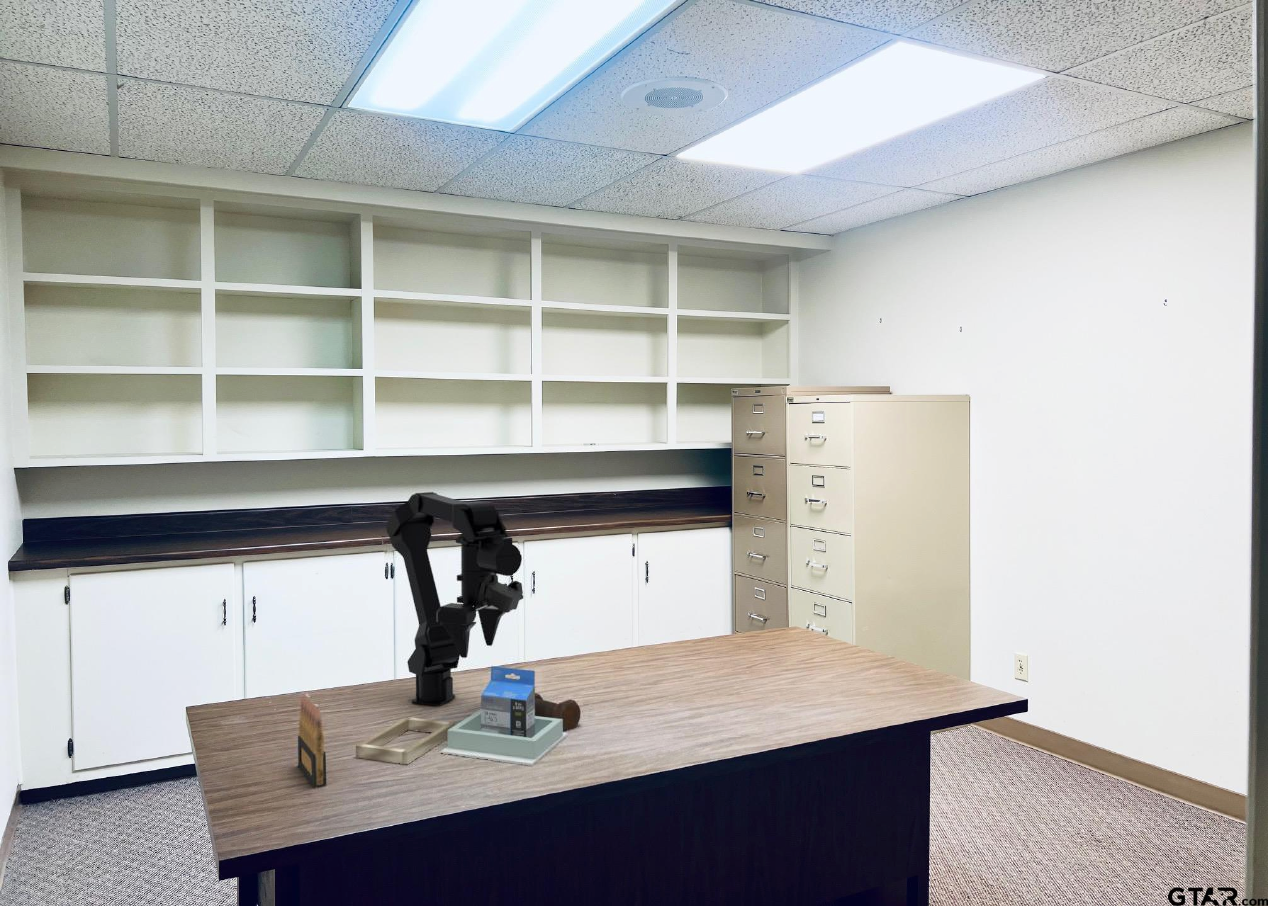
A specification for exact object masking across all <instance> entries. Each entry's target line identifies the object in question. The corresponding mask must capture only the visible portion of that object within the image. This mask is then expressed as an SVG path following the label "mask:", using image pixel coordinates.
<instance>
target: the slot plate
mask: <svg viewBox="0 0 1268 906" xmlns="http://www.w3.org/2000/svg"><path fill="white" fill-rule="evenodd" d="M447 732H448V739H447V746H446V747H445V748H443V749H442V750H440V754H441V753H443V754H442V755H448V754H452V755H451V756H455V755H458V756H457V757H462V756H465V757H464V758H471V759H477V758H479V759H478V760H484V759H488V760H487V761H492V760H493V761H494V762H499V761H500V762H501V763H507V764H516V765H521V764H522V765H524V766H529V767H533V766H534V765H535V764H536V763H537V762H538V761H541V759H542V758H543V757H544V756H546V755H547V754H548V753H549V752H550V751H551V750H552V749H554V748H555V747H557V745H559V744H560V743H561V742H562V741H563V740H564V739H566V737H568V736H569V732H567V731H563V719H556V718H548V717H539V716H535V736H533V737H532V738H528V737H520V736H511V735H503V734H495V733H487V732H481V709H478V710H476V712H474V713H473V714H471V715H470V716H468V717H466V718H465V719H463V720H462V721H459V722H458V723H457V724H455V726H454V727H452V728H450V729H449V730H447Z"/></svg>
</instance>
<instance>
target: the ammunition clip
mask: <svg viewBox="0 0 1268 906" xmlns="http://www.w3.org/2000/svg"><path fill="white" fill-rule="evenodd" d="M299 715H300V716H299V719H298V720H299V723H298V725H299V726H298V728H299V729H298V731H299V735H298V736H297V752H298V753H297V760H298V761H297V766H299V767H298V768H299V769H300V771H301V772H302V773H304V774H303V775H304V776H305V779H307V780H309V781H310V782H309V781H308V782H309V784H310V785H311V786H312V788H313V787H314V788H313V789H317V788H320V786H322V787H326V786H327V762H326V761H327V760H326V758H327V756H326V751H325V734H324V732H323V731H324V730H323V719H322V718H323V717H322V714H321V710H320V708H319V707H318V706H317V705H316V704H315V702H314V701H312V700H311V699H310V698H309V696H308V695H306V693H303V694H302V697H301V700H300V714H299ZM325 785H326V786H325ZM316 787H317V788H316Z"/></svg>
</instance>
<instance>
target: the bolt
mask: <svg viewBox="0 0 1268 906" xmlns="http://www.w3.org/2000/svg"><path fill="white" fill-rule="evenodd" d="M581 713H582V712H581V708H580V706H579V704H578V703H577V702H576V700H575V699H568V700H564V701H561V702H558V703H555V702H553V701H549V700H544V699H543V697H542V696H541V694H540V693H538V692H535V716H539V717H548V718H556V719H563V732H568V731H570V730H574V729H575V728H577V726H578V724H579V723H580V720H581V715H582V714H581ZM567 730H568V731H567Z"/></svg>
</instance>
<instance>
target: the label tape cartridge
mask: <svg viewBox="0 0 1268 906" xmlns="http://www.w3.org/2000/svg"><path fill="white" fill-rule="evenodd" d="M511 675H514V676H517V677H519V678H510V677H506V676H511ZM535 675H536V671H535V670H530V669H521V668H510V667H501V666H492V665H491V667H490V680H489V681H488V684H487V686H485V689H483V691H482V693H481V695H480V710H481V732H487V733H495V734H503V735H511V736H520V737H528V738H532V737H533V736H535V693H536V687H535V686H536V683H535V682H536V681H535V680H536V679H535V677H536V676H535Z"/></svg>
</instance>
